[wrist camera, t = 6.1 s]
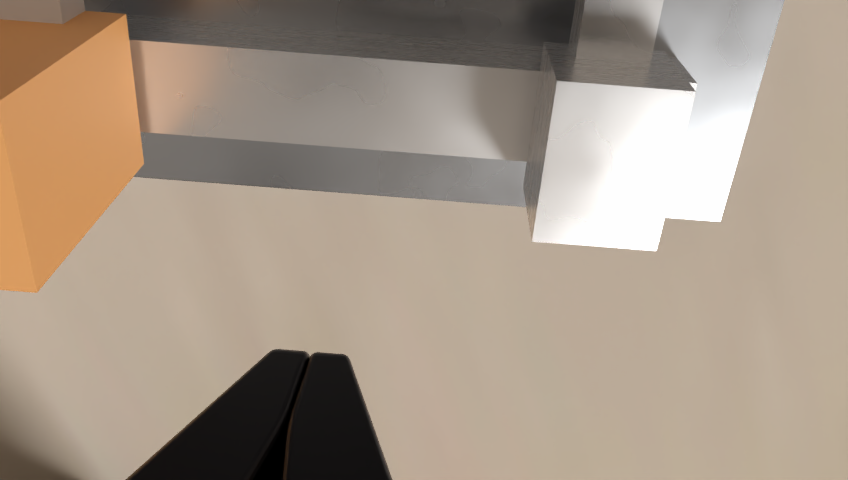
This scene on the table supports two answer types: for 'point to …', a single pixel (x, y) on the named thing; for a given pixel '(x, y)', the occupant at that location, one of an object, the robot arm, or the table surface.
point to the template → (459, 102)
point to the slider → (60, 131)
